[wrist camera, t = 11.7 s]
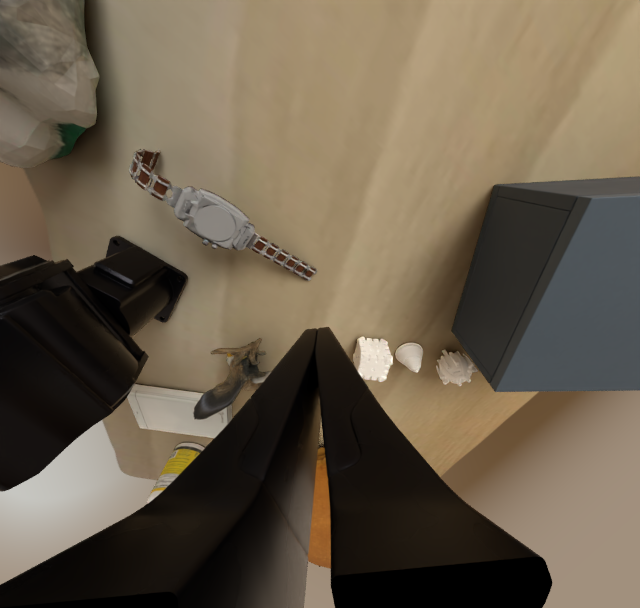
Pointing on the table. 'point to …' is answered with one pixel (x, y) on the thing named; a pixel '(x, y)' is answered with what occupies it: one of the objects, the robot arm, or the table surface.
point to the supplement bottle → (175, 466)
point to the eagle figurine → (232, 380)
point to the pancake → (320, 517)
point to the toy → (44, 80)
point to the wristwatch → (211, 215)
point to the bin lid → (583, 306)
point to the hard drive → (174, 411)
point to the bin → (516, 259)
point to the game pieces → (407, 361)
